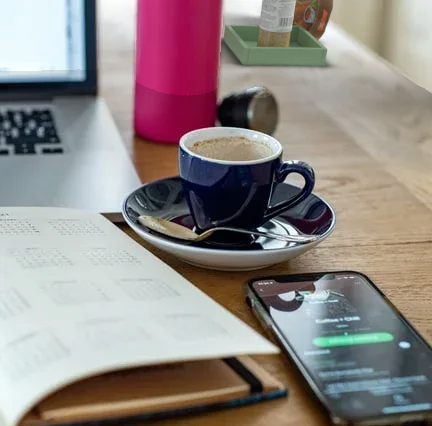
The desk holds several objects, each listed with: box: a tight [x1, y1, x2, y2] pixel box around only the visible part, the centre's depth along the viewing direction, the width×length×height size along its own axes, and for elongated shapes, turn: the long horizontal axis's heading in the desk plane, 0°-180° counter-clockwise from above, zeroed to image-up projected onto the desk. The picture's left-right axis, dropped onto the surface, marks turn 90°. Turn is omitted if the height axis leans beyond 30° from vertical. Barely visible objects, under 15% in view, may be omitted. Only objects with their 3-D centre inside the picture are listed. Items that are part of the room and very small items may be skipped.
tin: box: [292, 0, 334, 41], centre depth 129 cm, size 15×3×8 cm, turn 10°
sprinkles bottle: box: [256, 0, 296, 47], centre depth 118 cm, size 5×5×14 cm
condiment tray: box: [223, 24, 328, 67], centre depth 121 cm, size 11×11×3 cm
